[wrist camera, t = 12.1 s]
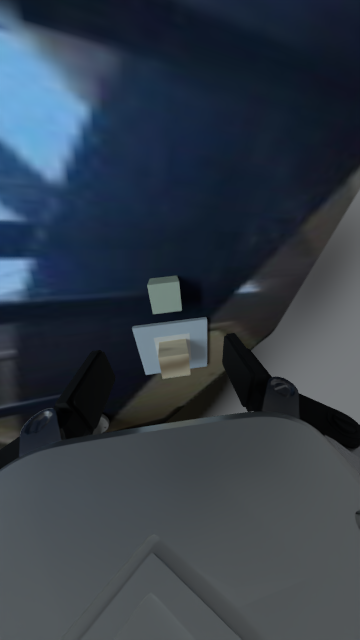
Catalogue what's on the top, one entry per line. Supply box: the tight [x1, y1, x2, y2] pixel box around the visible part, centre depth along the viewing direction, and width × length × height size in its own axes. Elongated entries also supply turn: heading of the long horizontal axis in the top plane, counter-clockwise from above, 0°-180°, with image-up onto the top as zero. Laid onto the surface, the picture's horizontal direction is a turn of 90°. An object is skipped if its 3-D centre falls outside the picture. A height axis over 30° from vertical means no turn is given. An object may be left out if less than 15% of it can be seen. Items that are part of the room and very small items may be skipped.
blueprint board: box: [132, 317, 207, 375], centre depth 33 cm, size 14×16×1 cm
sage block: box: [147, 276, 182, 314], centre depth 25 cm, size 5×5×5 cm
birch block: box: [158, 339, 190, 379], centre depth 31 cm, size 6×6×5 cm
